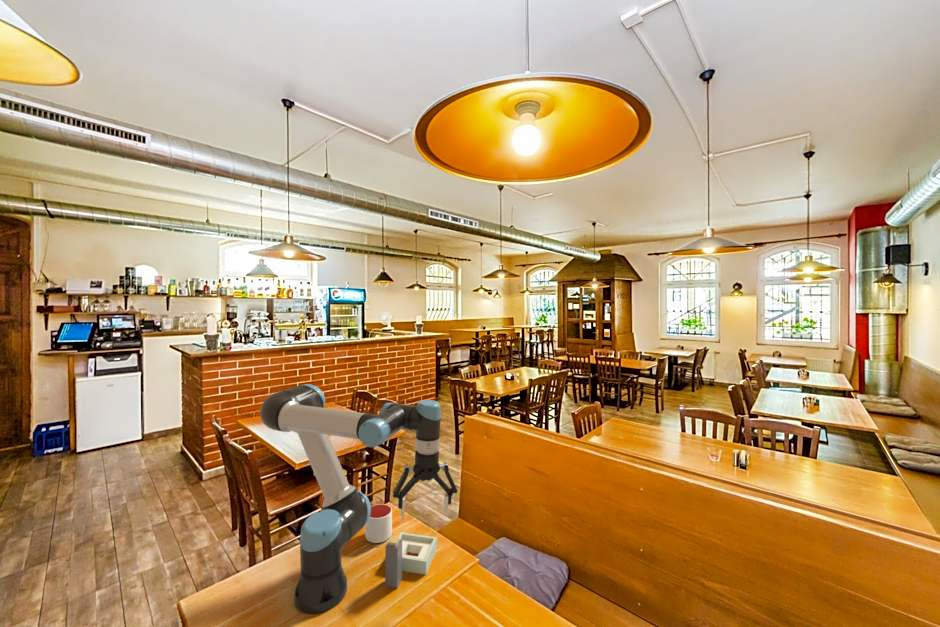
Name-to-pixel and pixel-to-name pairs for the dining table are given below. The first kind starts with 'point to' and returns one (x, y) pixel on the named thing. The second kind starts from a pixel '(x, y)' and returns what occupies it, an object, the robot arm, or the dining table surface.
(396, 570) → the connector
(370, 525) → the cup
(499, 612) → the dining table surface
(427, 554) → the walled box
